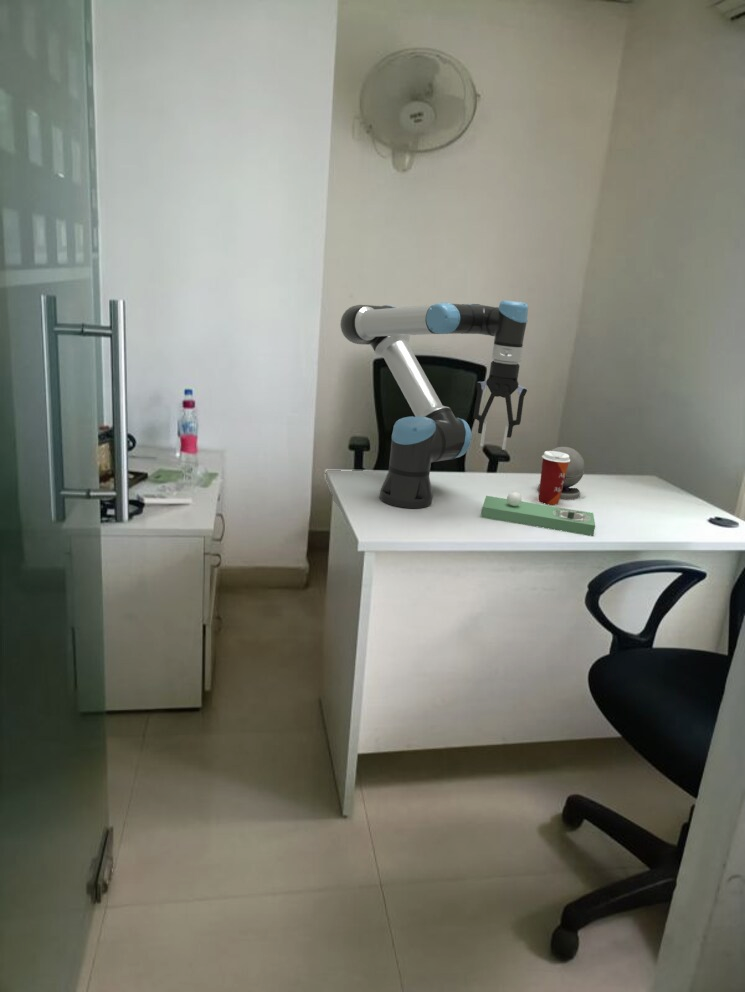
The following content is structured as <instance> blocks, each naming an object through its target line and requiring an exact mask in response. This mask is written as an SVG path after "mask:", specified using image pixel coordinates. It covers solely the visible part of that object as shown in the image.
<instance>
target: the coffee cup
mask: <svg viewBox="0 0 745 992" xmlns="http://www.w3.org/2000/svg"><path fill="white" fill-rule="evenodd" d="M541 458H542V462H541V472H540V480H539V484H540V488H539V492H538V499H537V500H539V501H538V502H539V503H541V504H544V503H545V504H544V505H548V504H549V505H548V506H556V505H555V504H557V505H558V504H559V502H560V500H561V499H560V495H561V491H562V487H563V483H564V479H565V475H566V471H567V467H568V463H569V462H570V459H569V455H568V454H566V453H562V452H557V451H551V450H546V451H544V452H543V455H541Z"/></svg>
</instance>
